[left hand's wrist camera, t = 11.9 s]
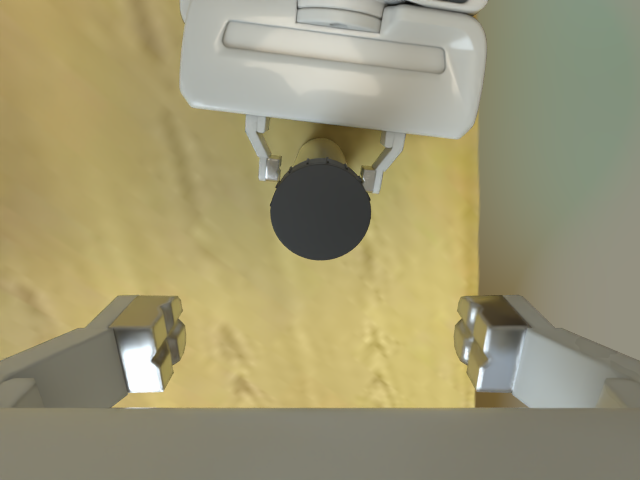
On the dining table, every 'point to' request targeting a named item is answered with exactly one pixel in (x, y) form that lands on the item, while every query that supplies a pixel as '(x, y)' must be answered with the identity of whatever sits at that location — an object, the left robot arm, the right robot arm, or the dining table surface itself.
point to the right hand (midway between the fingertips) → (319, 185)
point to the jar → (320, 151)
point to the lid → (320, 209)
